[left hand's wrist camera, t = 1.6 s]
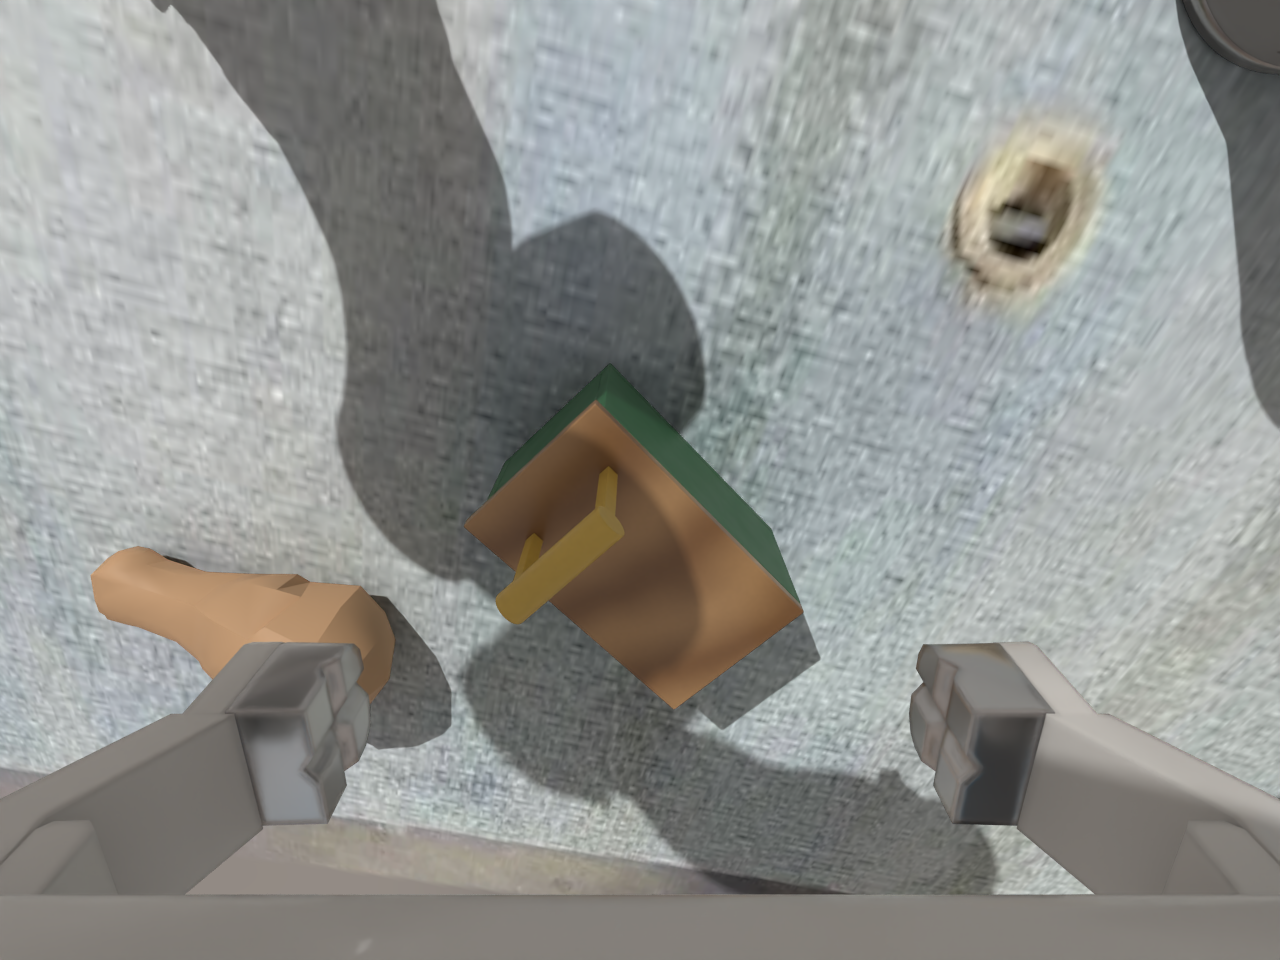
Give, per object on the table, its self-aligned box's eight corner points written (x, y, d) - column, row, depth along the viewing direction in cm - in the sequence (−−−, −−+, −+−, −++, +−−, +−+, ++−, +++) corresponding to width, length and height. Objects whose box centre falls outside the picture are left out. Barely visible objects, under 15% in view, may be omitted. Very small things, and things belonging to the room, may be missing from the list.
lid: (466, 519, 39) (426, 597, 32) (596, 398, 37) (586, 452, 29) (673, 700, 44) (680, 805, 36) (801, 604, 41) (837, 695, 34)
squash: (404, 692, 55) (342, 793, 48) (157, 601, 55) (54, 688, 47) (425, 589, 50) (359, 685, 42) (151, 488, 50) (33, 565, 42)
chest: (504, 462, 48) (474, 526, 39) (610, 362, 46) (603, 406, 37) (666, 612, 53) (673, 700, 44) (771, 528, 50) (800, 603, 41)
